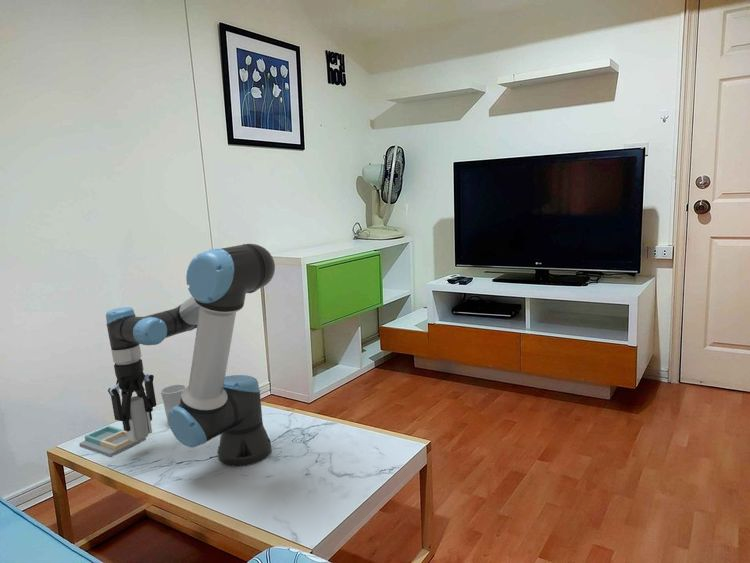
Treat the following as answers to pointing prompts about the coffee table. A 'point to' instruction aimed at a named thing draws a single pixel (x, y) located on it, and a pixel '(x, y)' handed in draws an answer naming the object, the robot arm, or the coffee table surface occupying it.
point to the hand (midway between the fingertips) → (140, 436)
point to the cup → (171, 397)
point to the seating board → (108, 441)
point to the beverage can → (138, 417)
